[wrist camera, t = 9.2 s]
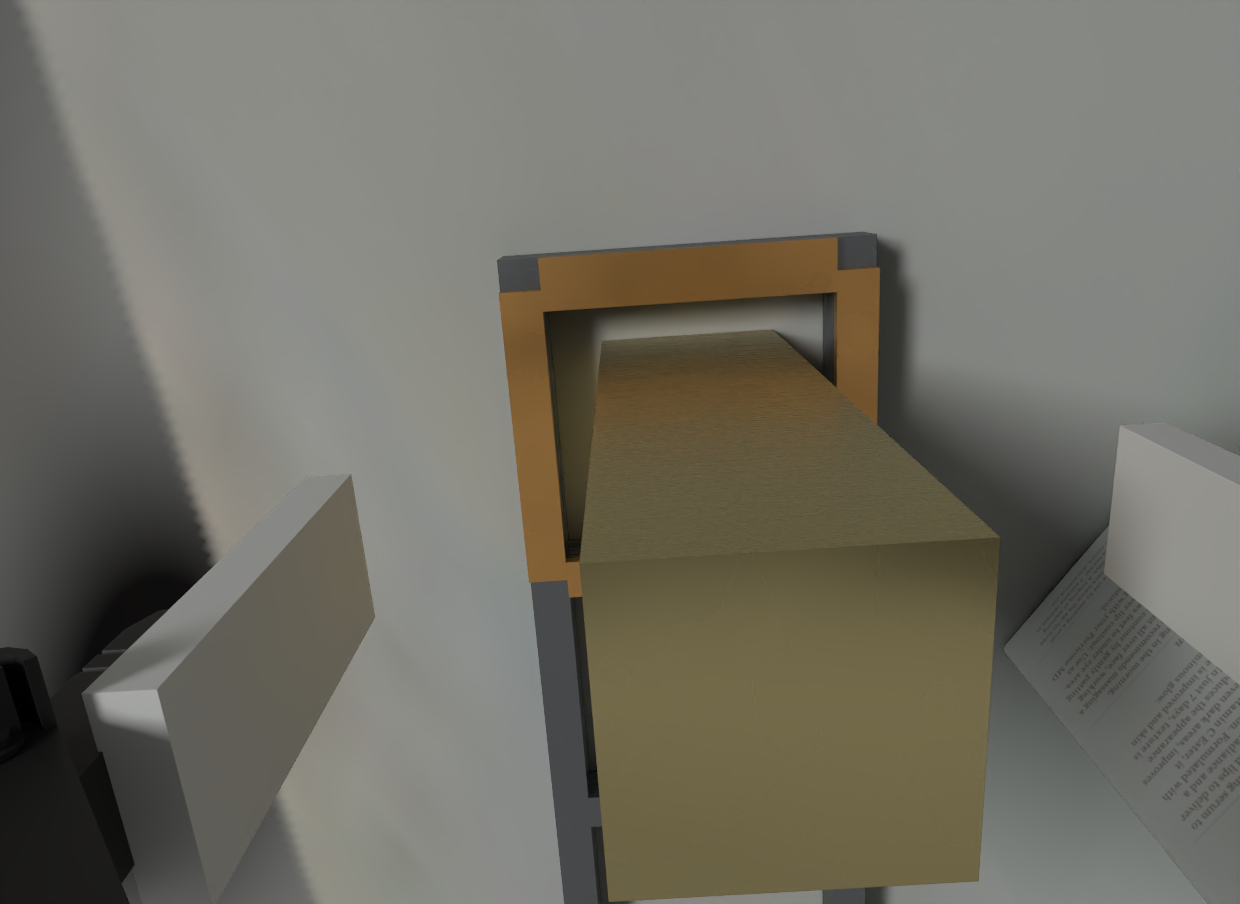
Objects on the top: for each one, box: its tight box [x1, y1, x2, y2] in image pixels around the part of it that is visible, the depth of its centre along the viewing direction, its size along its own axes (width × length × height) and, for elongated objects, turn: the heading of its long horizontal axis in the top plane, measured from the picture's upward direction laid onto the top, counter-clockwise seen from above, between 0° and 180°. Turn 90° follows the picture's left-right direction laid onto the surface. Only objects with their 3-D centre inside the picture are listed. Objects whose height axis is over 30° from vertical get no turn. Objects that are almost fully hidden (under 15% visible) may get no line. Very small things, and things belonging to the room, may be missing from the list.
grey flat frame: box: [497, 232, 880, 904], centre depth 25 cm, size 24×9×2 cm, turn 4°
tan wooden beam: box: [579, 330, 1000, 902], centre depth 17 cm, size 4×4×14 cm
